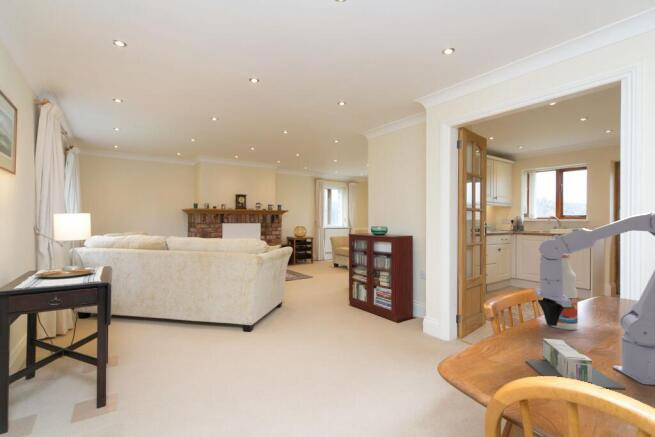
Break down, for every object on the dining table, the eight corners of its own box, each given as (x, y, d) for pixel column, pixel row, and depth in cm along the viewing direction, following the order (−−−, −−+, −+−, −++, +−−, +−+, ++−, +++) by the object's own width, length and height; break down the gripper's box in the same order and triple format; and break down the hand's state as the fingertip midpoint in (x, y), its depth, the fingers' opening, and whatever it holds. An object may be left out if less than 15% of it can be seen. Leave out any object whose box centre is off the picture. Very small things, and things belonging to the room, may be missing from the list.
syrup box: (563, 359, 94) (594, 383, 79) (541, 357, 95) (567, 380, 81) (563, 339, 94) (594, 360, 80) (541, 337, 95) (567, 358, 81)
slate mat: (625, 389, 77) (625, 387, 77) (556, 386, 79) (556, 384, 79) (584, 363, 91) (584, 362, 91) (525, 361, 93) (525, 360, 93)
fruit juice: (561, 321, 129) (560, 253, 130) (584, 329, 120) (583, 255, 121) (541, 323, 128) (541, 253, 128) (563, 331, 118) (562, 256, 119)
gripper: (524, 275, 103) (524, 317, 103) (552, 283, 88) (552, 333, 88) (547, 275, 102) (547, 317, 102) (579, 284, 88) (579, 333, 88)
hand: (551, 325), depth 95 cm, fingers closed
